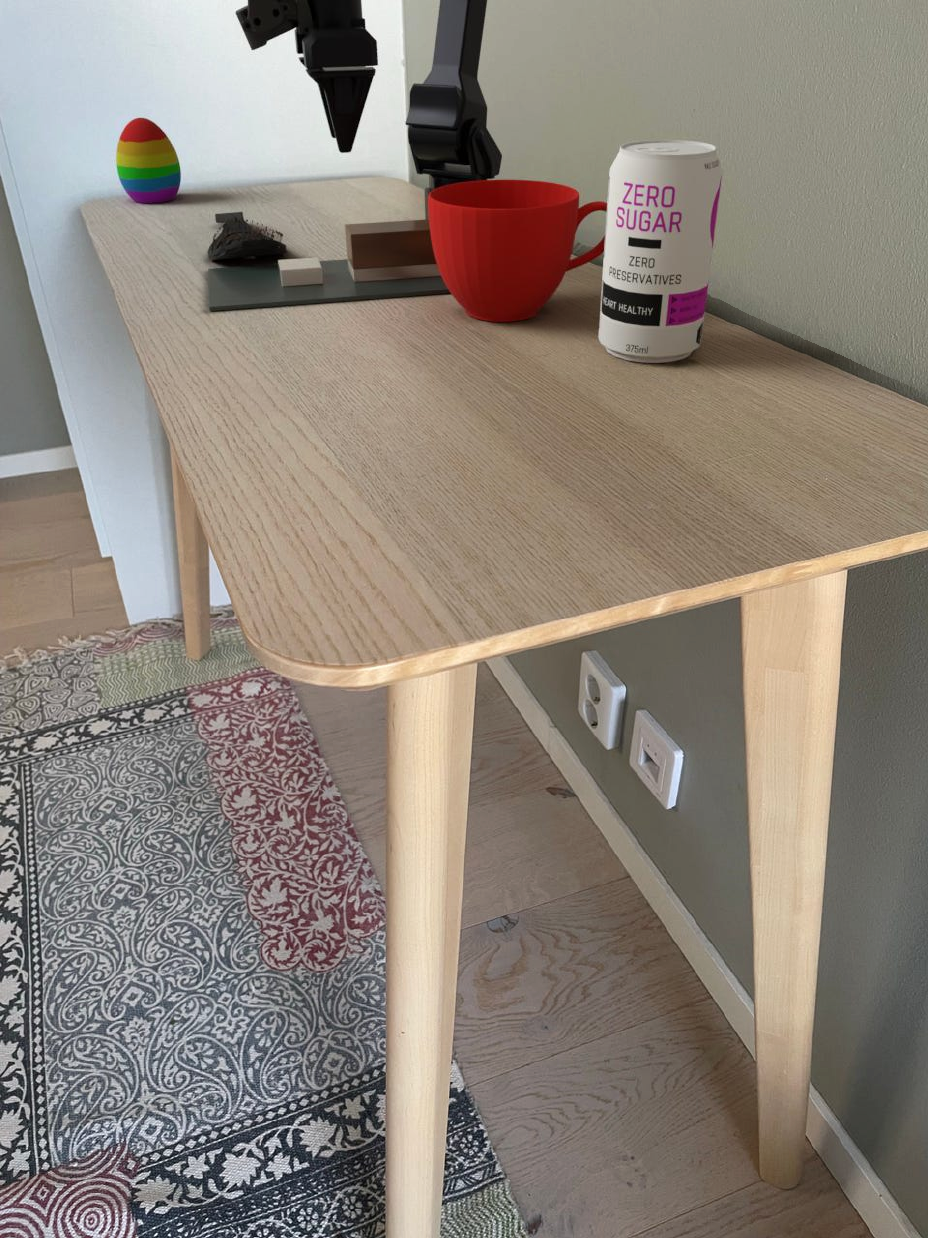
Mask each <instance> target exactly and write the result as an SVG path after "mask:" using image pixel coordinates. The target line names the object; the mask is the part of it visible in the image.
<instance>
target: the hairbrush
mask: <svg viewBox="0 0 928 1238" xmlns="http://www.w3.org/2000/svg"><path fill="white" fill-rule="evenodd" d="M214 218H215V219H214V221H215V223H216V224H224V225H223V226H222V227H223V228H222V227H218V230H217V231H216V232H215V233H214V234H213V237H212V243H210V245H209V247H208V249H207V257H208V260H209V261H216V260H227V259H238V258H249V257H250V258H251V257H259V256H270V255H271V256H274V255H278V254H288V251H287V245H286V244H284V243H283V242H282V239H283V237H284V234H283V233H282V232H281V231H277V230H275V231H274V229H271V228H269V231H271V233H270V232H268V226H265V227H264V228H265V229H264V228H263V229H262V228H261V229H260V227H259V226H258V225H259V222H257V223H256V224H257V226H258V227H256V228H253V225H251V226H250V224H249V223H248V222H249V219H245V218H244V213H243V211H233V212H222V213H215V214H214ZM253 223H254V220H251V224H253ZM263 226H264V225H263V223H261V227H263ZM275 237H276V238H275ZM277 239H278V240H277Z"/></svg>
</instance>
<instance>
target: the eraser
mask: <svg viewBox="0 0 928 1238" xmlns="http://www.w3.org/2000/svg"><path fill="white" fill-rule="evenodd" d="M344 229H345V243H346V255H347V258H346V259H348V270H349V272H350V274H351V277H352V279H353V281H354V282H365V281H378V280H392V279H406V278H420V277H434V276H441V274H440V272H439V269H438V266H437V263H436V259H435V255H434V251H433V246H432V240H431V233H430V224H429V219H426V220H425V219H415V220H414V219H413V220H411V219H409V220H395V221H380V222H379V221H378V222H364V223H348V224H344Z"/></svg>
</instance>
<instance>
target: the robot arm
mask: <svg viewBox="0 0 928 1238" xmlns="http://www.w3.org/2000/svg"><path fill="white" fill-rule="evenodd" d="M362 5H363V3H362V0H247V5H245V6H243V7H241V8H239V9H237V10H236V11H235V15H236V18H237V20H238V22H239V25H240V27H241V29H242V31H243V33H244V36H245V38H246V40H247V43H248V45H249V47H250V49H251V51H255V50H258V49H260V48H262V47H264V46H266V45H267V43H268V42H269V41H271V40H273V39H275V38H277V37H280V36H281V35H284V34H285V33H288V32H290V31H293V30H294V29H295V30H294V40H295V41H294V42H295V50H296V54H297V55H303V56H299V57H298V60H299V62H300V63H301V65H303V66H304V67H305V68H306V69H305V72H306V73H307V75H308V76H309V77H310V78H311V79H312V80H314V82H315V83H316V84H317V87H318V91H319V94H320V98H321V102H322V106H323V109H324V115H325V117H326V121H327V125H328V128H329V133H330V136H331V138H333V139H335V140H336V145H337V148H338V151H339V153H341V154H345V153H346V154H347V153H351V152H352V151H353V146H354V143H355V140H356V136H357V133H358V131H359V130H358V129H359V126H360V124H361V119H362V115H363V112H364V110H365V106H366V103H367V100H368V96H369V93H370V90H371V87H372V83H373V80H374V77H375V76H376V71H377V70H376V68H375V66H376V67H377V66H379V56H378V41H377V40H376V38H375V37H374V36H373V35H372V34H371V33H370V32H369V31H368V30H367V28H366V18H364V17H363V6H362ZM487 6H488V0H439V7H438V15H437V23H436V32H435V39H434V40H435V41H434V47H433V48H434V49H433V57H432V66H431V69H430V70H431V71H430V72H429V73H428V75H427V77H426V78H425V80H424V81H423V83H413V84H412V85H411V88H410V91H409V105H408V106H409V107H408V113H407V117H406V120H405V126H408V127H407V142H408V144H409V149H410V153H411V155H412V159H413V163H414V164H413V165H414V167H415V171H416V174H417V175H428V187H425V188H424V215H425V219H424V220H426V219H429V214H428V195H429V194H430V192H431V191H433V190H434V189H436V188H439V187H442V186H446V185H450V184H455V183H461V182H470V181H481V180H494V179H495V178H496V176H498V175H500V172H501V165H502V160H503V155H502V152H501V150H500V149H499V146H498V145H497V143H496V142H495V140H494V138H493V137H492V134H491V133H490V130H488V128H487V126H488V125H487V123H488V105H487V102H486V99H485V97H484V94H483V90H482V88H481V85H480V83H479V80H478V77H479V76H478V75H479V68H480V67H479V66H480V58H481V51H482V44H483V43H482V42H483V35H484V28H485V21H486V13H487Z"/></svg>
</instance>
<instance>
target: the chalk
mask: <svg viewBox="0 0 928 1238" xmlns="http://www.w3.org/2000/svg"><path fill="white" fill-rule="evenodd" d="M319 261H320V259H319V257H316V256H315V257H304V258H302V257H301V258H287V259H278V260H277V264H278V267H279V276H280V280H281V284H282V287H286V286H299V285H313V284H323V276H322V267H321V265H320V262H319Z"/></svg>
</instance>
